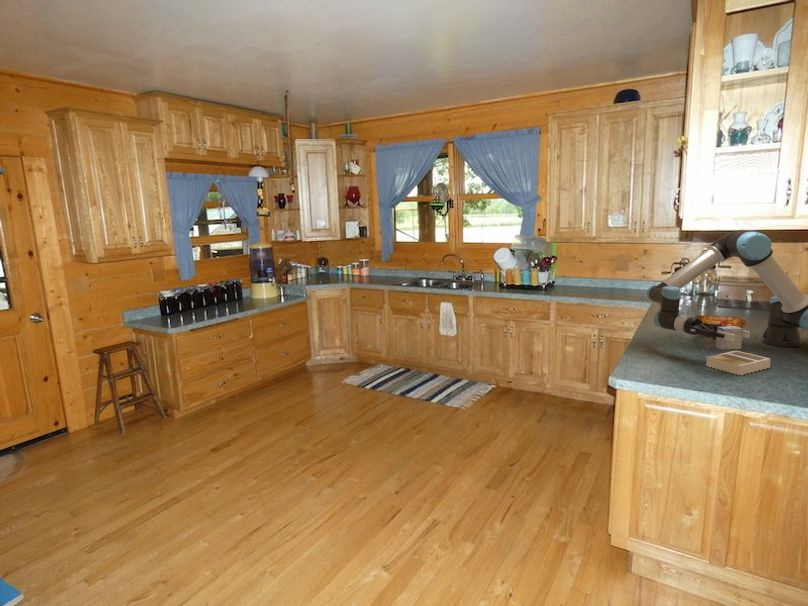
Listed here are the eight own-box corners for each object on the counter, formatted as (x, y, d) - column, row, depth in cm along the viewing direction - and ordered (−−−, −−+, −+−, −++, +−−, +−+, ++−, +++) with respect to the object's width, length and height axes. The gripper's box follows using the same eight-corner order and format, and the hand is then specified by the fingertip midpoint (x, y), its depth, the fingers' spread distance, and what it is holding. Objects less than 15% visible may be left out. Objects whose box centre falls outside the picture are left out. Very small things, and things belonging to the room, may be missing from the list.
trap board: (735, 359, 215) (736, 349, 214) (769, 367, 202) (770, 357, 201) (706, 366, 207) (706, 356, 206) (740, 375, 194) (741, 365, 194)
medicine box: (733, 346, 203) (735, 325, 201) (741, 349, 198) (743, 328, 197) (715, 346, 202) (717, 326, 201) (722, 350, 198) (724, 329, 196)
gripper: (704, 330, 220) (757, 341, 200) (671, 336, 212) (722, 349, 191) (705, 314, 219) (759, 323, 198) (672, 319, 210) (724, 330, 190)
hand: (741, 336), depth 195 cm, fingers closed on medicine box, 9 cm apart
